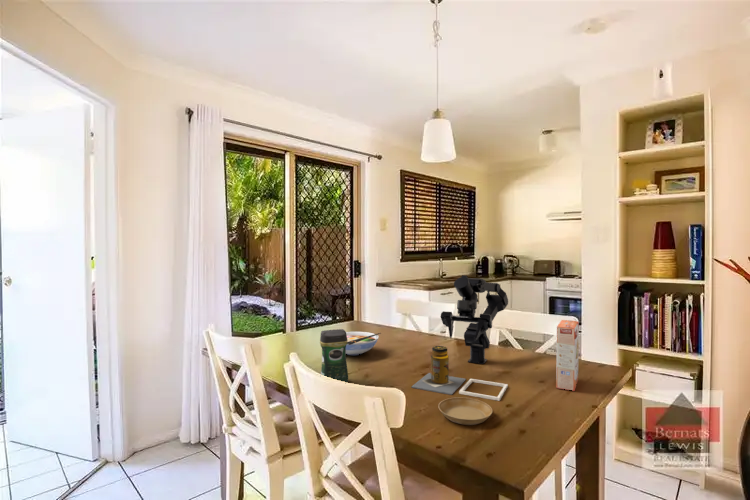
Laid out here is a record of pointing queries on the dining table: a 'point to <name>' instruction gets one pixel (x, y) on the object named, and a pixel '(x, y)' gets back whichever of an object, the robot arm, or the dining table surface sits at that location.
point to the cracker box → (567, 354)
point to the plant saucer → (465, 410)
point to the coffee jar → (334, 354)
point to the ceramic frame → (482, 394)
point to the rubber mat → (441, 389)
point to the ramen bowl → (360, 342)
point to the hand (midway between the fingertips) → (462, 338)
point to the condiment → (439, 367)
